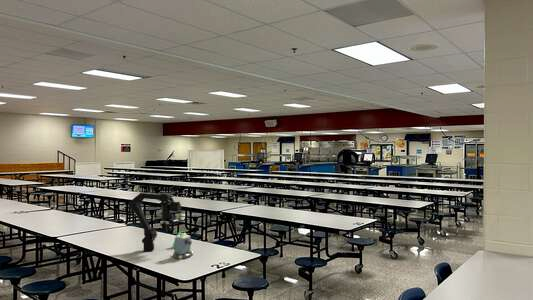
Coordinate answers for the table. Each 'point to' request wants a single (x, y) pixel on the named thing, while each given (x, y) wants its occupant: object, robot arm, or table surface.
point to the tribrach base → (183, 255)
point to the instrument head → (182, 243)
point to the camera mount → (174, 241)
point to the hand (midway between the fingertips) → (166, 233)
